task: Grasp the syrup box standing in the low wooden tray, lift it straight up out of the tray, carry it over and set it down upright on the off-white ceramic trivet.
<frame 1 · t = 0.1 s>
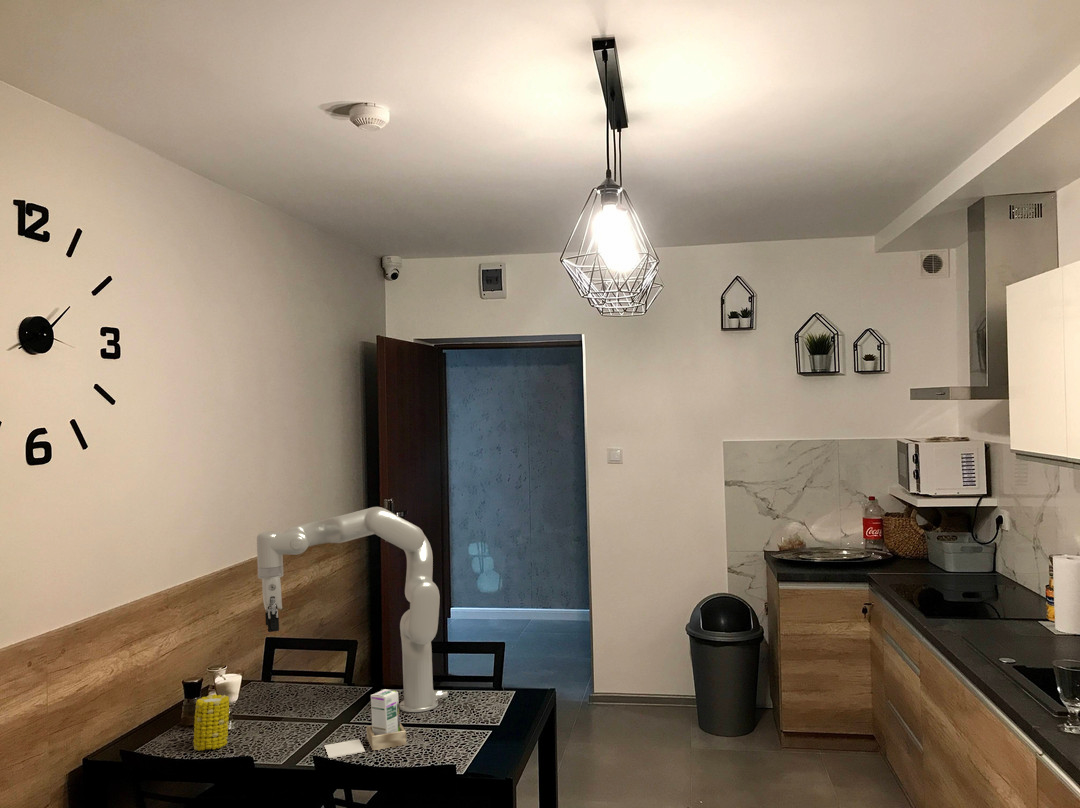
hand: (272, 627, 257), 31 cm above the table, tool pointing down, fingers open, 9 cm apart
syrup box: (386, 743, 241), resting in wooden tray
wooden tray: (386, 742, 241), on the table
food: (212, 746, 244), on the table
trivet: (344, 750, 237), on the table
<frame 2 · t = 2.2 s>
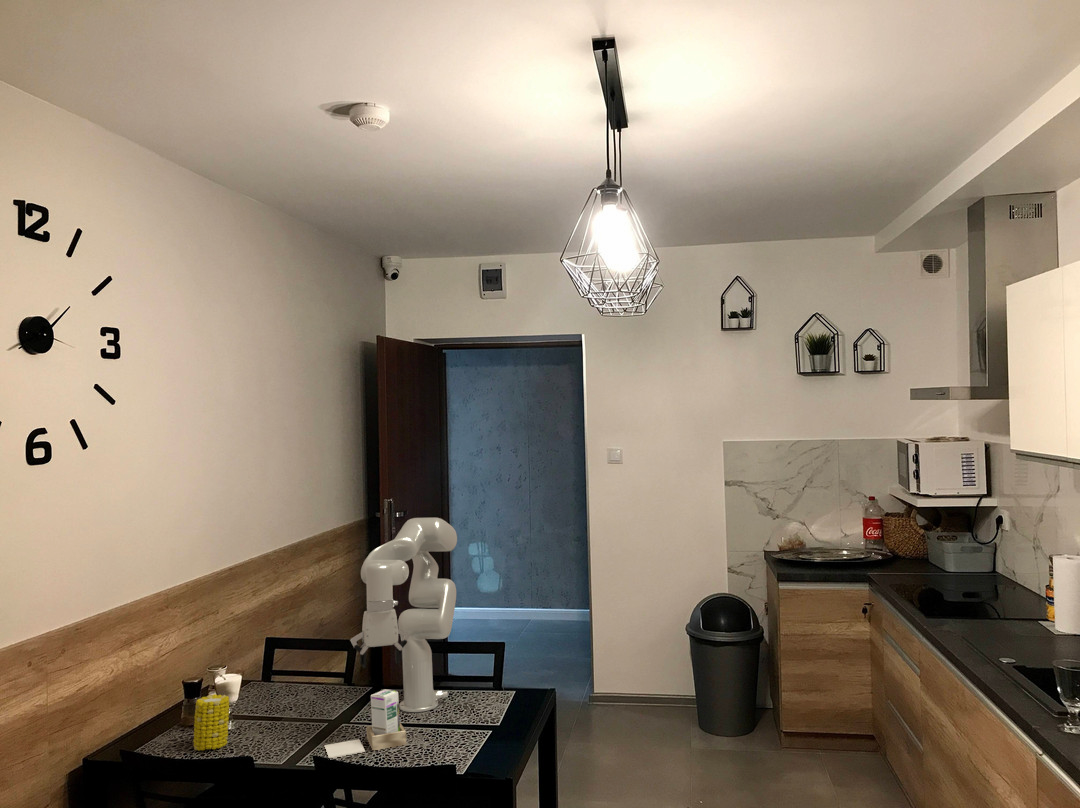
hand: (381, 665, 243), 22 cm above the table, tool pointing down, fingers open, 9 cm apart
nothing on the table moved.
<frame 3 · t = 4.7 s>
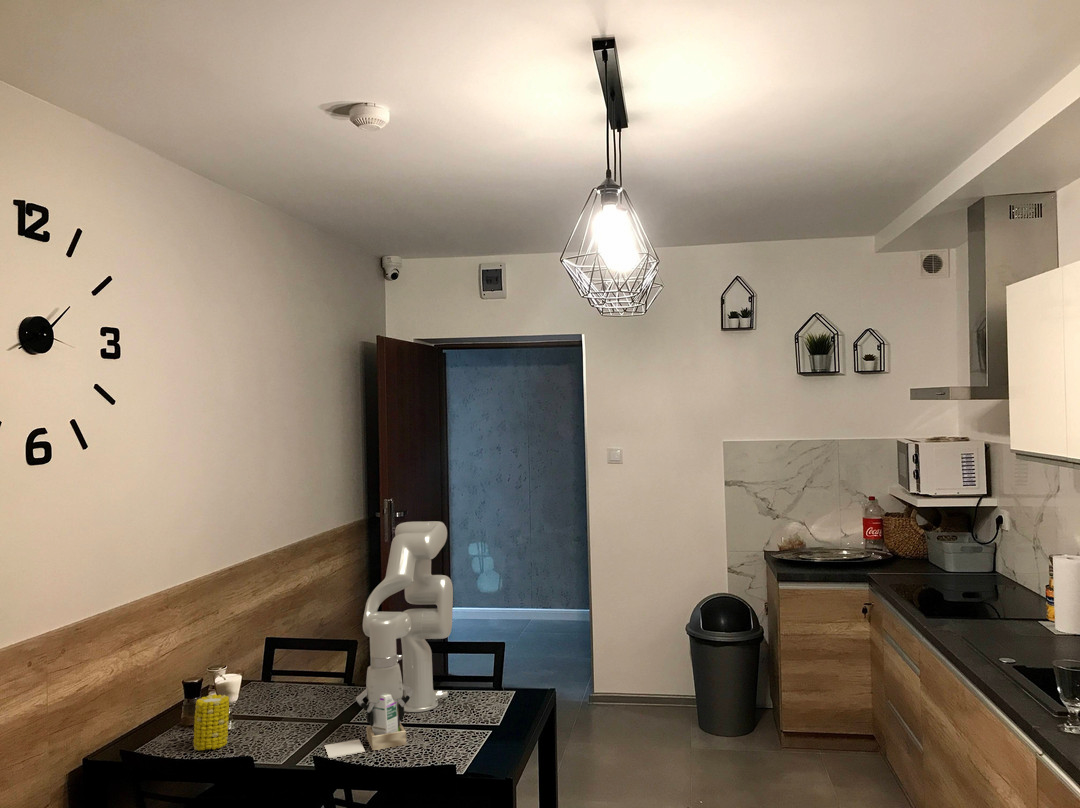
hand: (385, 721, 242), 6 cm above the table, tool pointing down, fingers closed on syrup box, 8 cm apart
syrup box: (386, 743, 241), resting in wooden tray, touching gripper
everything else where it was.
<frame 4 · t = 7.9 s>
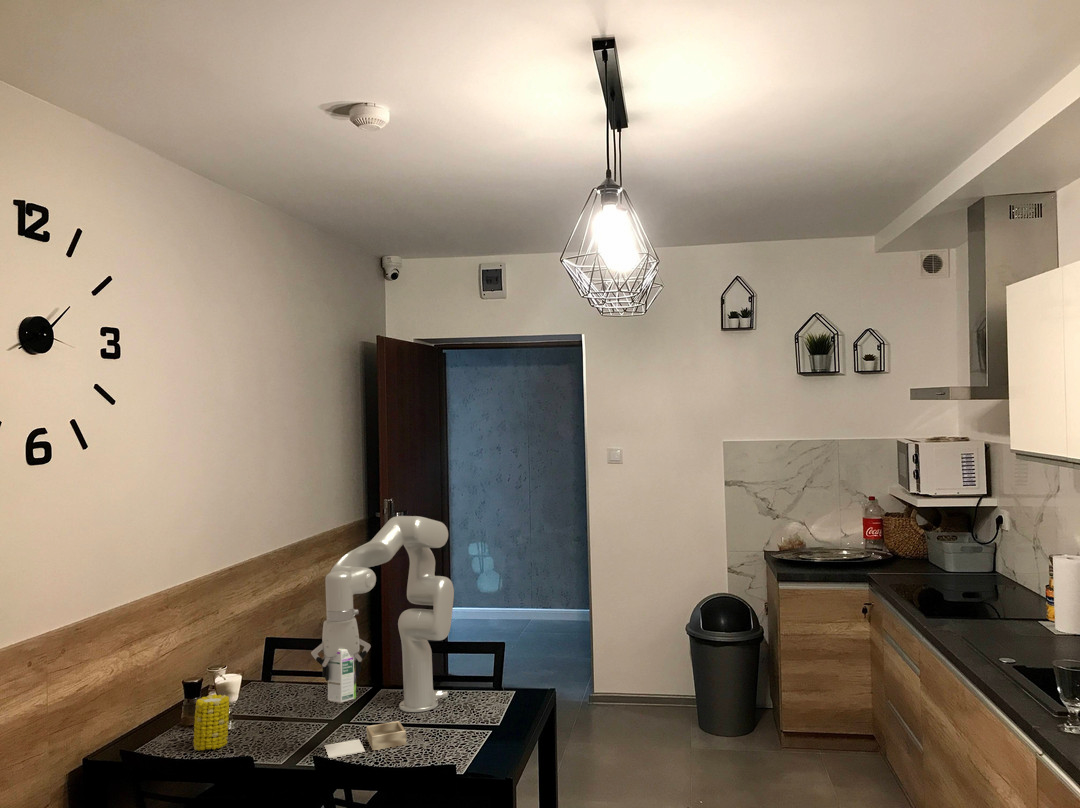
hand: (342, 676, 238), 21 cm above the table, tool pointing down, fingers closed on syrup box, 8 cm apart
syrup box: (341, 700, 237), point 14 cm above the table, touching gripper
everything else where it was.
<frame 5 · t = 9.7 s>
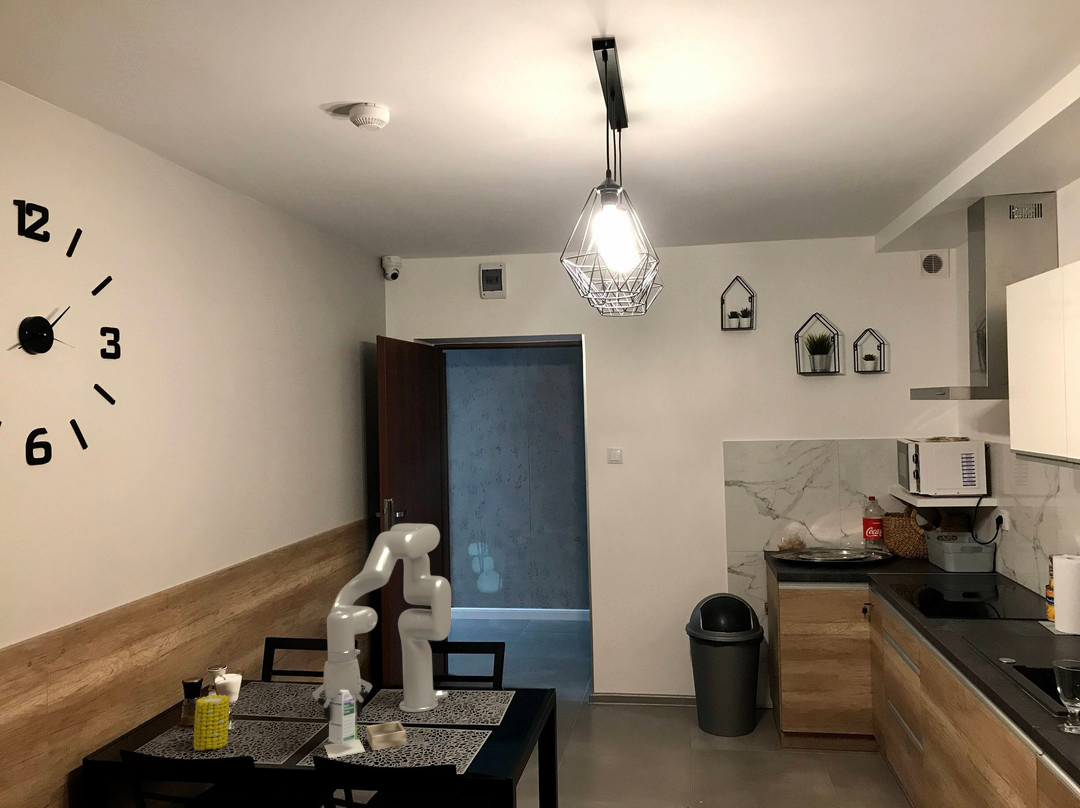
hand: (343, 717, 237), 9 cm above the table, tool pointing down, fingers closed on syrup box, 8 cm apart
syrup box: (342, 741, 236), point 3 cm above the table, touching gripper
everything else where it was.
when the fingers open (8 cm above the table, at t = 11.1 s): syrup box stays where it is, resting on trivet.
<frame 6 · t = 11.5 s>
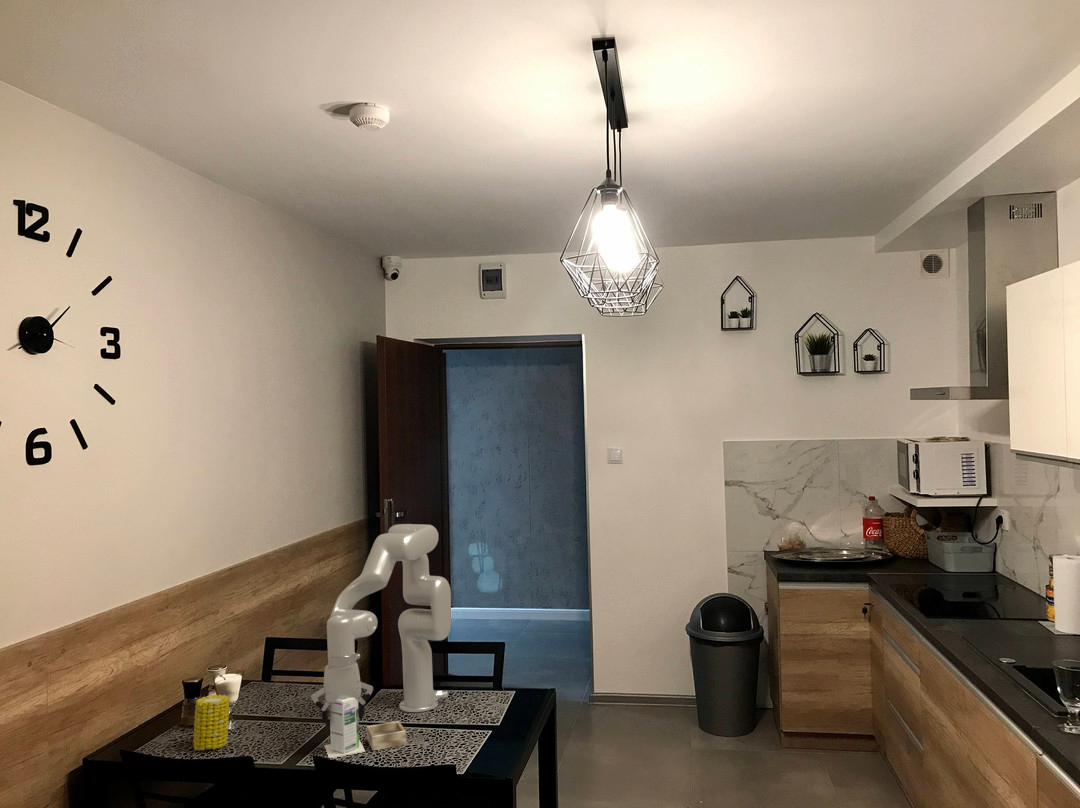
hand: (343, 720, 237), 8 cm above the table, tool pointing down, fingers open, 9 cm apart
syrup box: (344, 749, 236), resting on trivet
everything else where it was.
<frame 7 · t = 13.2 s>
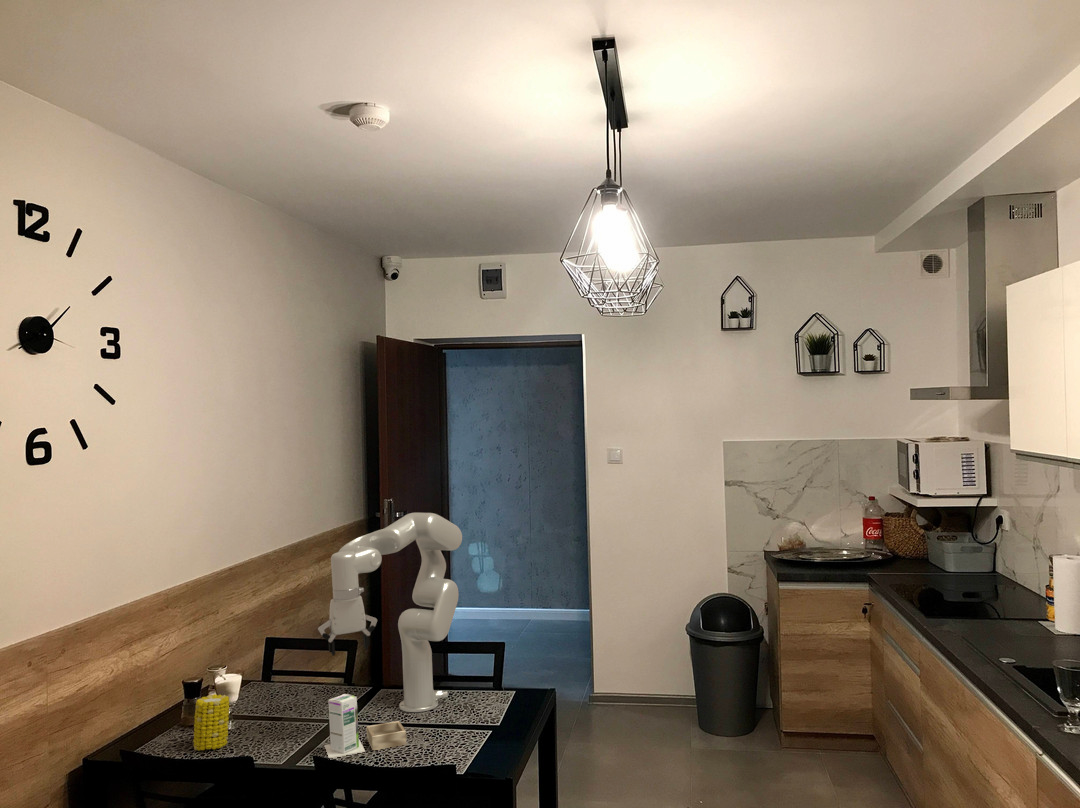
hand: (349, 651, 246), 26 cm above the table, tool pointing down, fingers open, 9 cm apart
nothing on the table moved.
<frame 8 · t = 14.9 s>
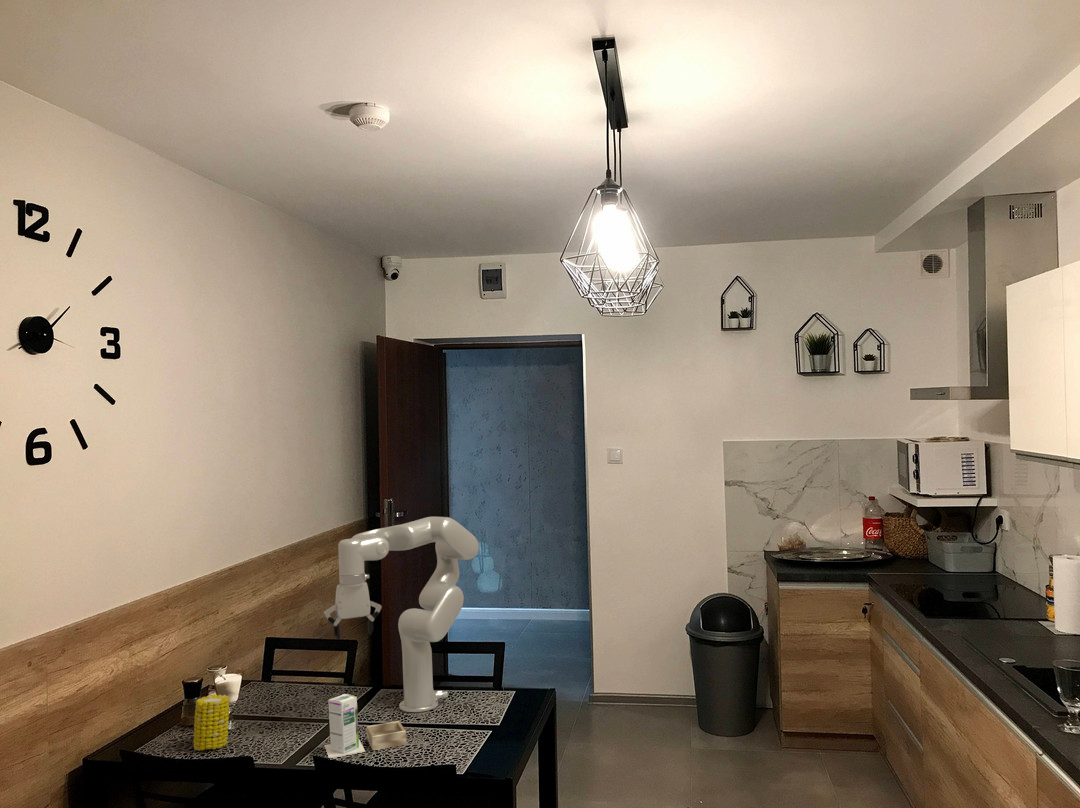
hand: (353, 636, 254), 28 cm above the table, tool pointing down, fingers open, 9 cm apart
nothing on the table moved.
at the end: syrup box inside the target area on the trivet (0.6 cm from its centre), point 0.4 cm above the trivet's base; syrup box tilted 0°; the gripper is holding nothing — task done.
